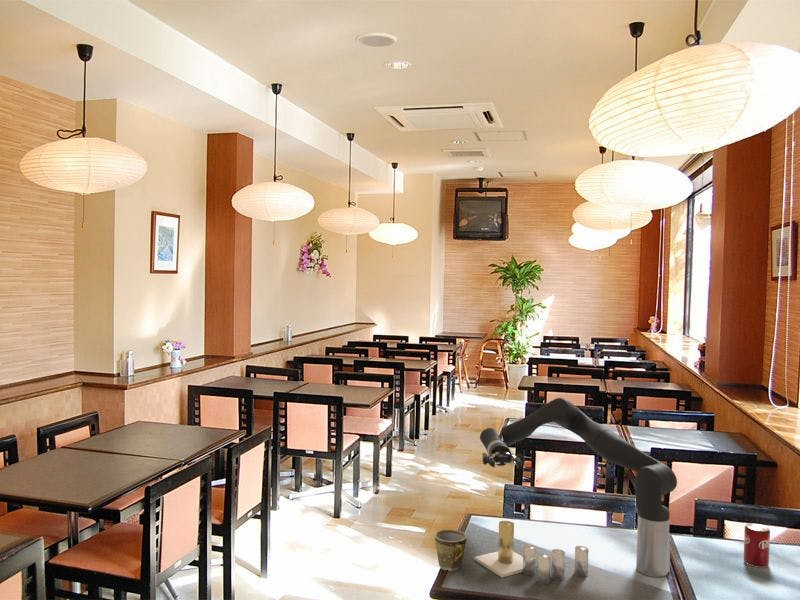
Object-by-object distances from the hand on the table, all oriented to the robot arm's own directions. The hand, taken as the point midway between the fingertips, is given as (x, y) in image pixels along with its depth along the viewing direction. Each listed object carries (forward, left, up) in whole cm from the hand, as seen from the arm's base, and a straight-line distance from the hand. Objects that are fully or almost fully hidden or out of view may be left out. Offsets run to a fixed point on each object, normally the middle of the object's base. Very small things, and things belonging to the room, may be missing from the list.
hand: (506, 464), depth 223 cm
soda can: (-65, +48, -28) cm, 85 cm away
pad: (+8, +11, -28) cm, 31 cm away
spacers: (-1, +23, -28) cm, 36 cm away
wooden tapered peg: (+8, +11, -27) cm, 30 cm away
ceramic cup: (+25, +6, -28) cm, 38 cm away
